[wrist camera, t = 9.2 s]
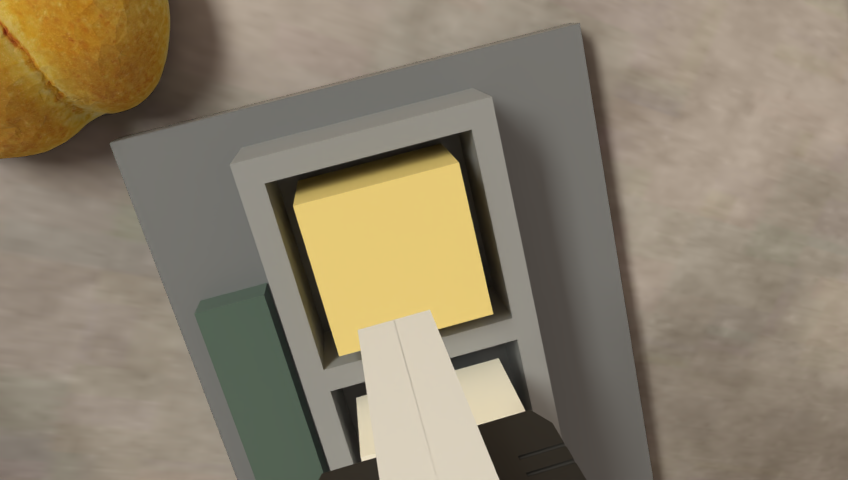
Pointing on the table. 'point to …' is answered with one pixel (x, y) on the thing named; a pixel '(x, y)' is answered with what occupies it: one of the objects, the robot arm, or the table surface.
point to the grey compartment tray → (493, 224)
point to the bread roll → (74, 65)
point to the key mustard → (392, 243)
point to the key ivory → (482, 391)
